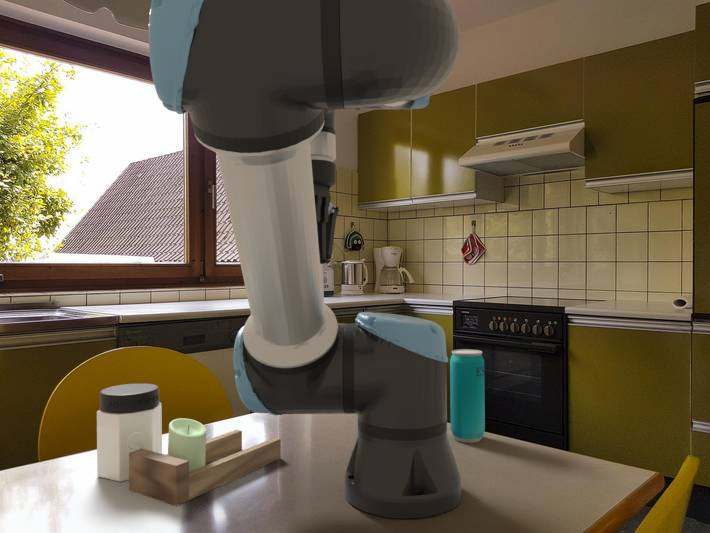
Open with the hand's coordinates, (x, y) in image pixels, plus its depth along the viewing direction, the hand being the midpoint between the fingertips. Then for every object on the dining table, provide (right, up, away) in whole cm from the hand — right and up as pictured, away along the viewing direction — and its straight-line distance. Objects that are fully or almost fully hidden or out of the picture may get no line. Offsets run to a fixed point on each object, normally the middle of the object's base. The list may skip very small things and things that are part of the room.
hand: (314, 302), depth 93 cm
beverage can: (+26, -24, +2) cm, 35 cm away
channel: (-14, -24, -12) cm, 30 cm away
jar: (-26, -24, -12) cm, 37 cm away
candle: (-17, -24, -16) cm, 33 cm away
